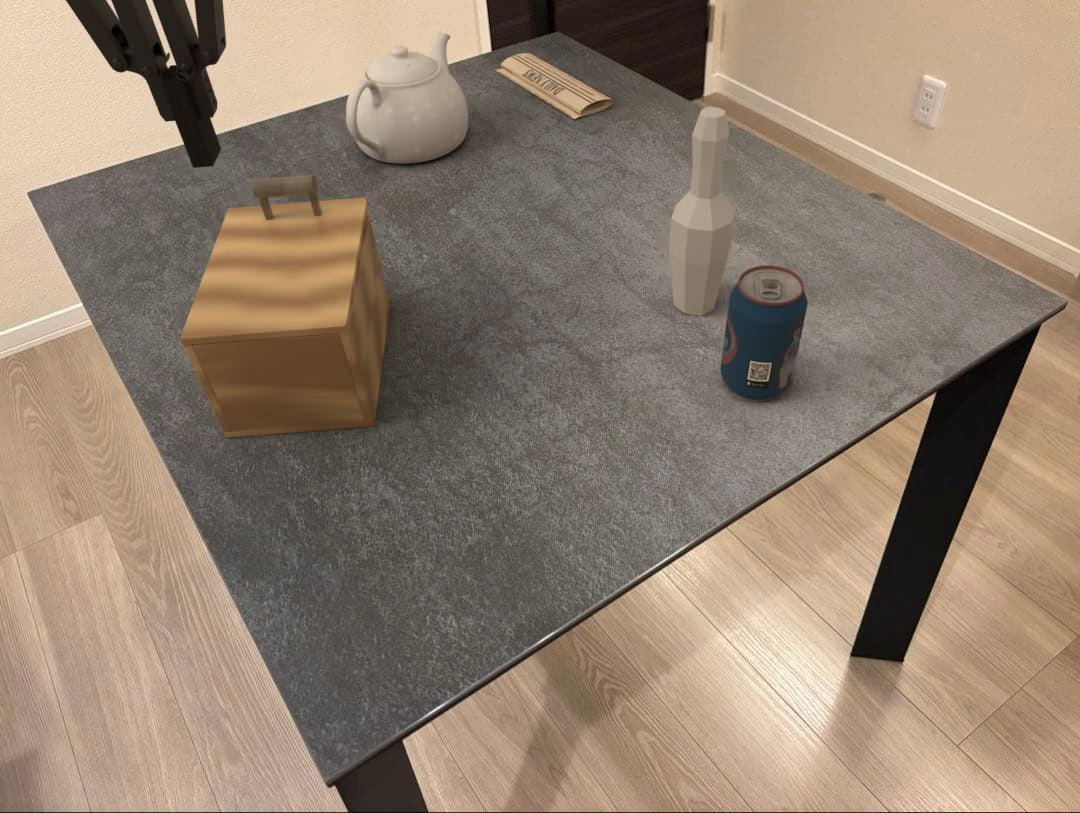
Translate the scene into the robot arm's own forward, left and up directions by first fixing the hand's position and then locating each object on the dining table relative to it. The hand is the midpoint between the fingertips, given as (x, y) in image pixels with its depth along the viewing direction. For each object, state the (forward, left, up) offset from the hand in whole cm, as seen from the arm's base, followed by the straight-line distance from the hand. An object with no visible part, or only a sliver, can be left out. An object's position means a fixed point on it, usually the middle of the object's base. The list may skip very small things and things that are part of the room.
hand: (207, 158), depth 62 cm
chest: (+8, +2, -28) cm, 30 cm away
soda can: (+13, -43, -29) cm, 53 cm away
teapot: (+58, +9, -29) cm, 65 cm away
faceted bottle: (+25, -36, -29) cm, 52 cm away
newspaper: (+78, -8, -29) cm, 84 cm away
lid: (+8, +3, -16) cm, 18 cm away
